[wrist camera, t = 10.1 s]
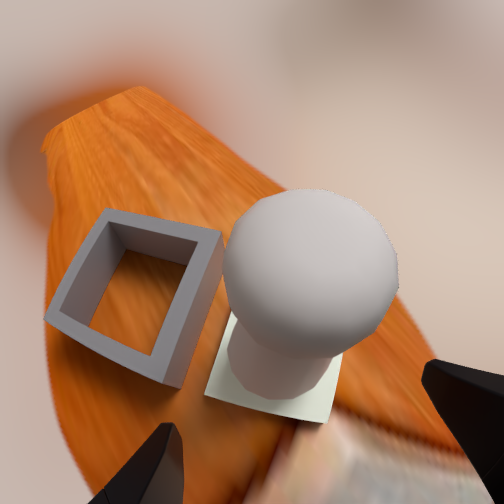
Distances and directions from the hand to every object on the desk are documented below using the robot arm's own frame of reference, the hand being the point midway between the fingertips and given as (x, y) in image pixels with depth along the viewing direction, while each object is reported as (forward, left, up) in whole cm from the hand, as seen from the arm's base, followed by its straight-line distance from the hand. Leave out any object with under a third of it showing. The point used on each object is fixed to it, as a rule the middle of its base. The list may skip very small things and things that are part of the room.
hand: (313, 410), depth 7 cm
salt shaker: (+3, +1, -9) cm, 9 cm away
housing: (+5, +12, -9) cm, 16 cm away
